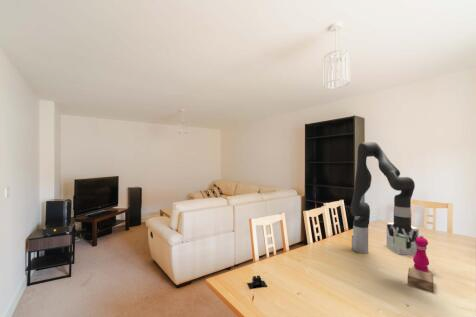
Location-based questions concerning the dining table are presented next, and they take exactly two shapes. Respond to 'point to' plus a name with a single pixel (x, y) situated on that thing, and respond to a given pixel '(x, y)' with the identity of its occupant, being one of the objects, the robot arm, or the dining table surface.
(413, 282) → the walnut box
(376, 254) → the dining table surface
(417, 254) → the pepper mill
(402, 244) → the green block
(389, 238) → the supplement box
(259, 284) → the black irregular piece
